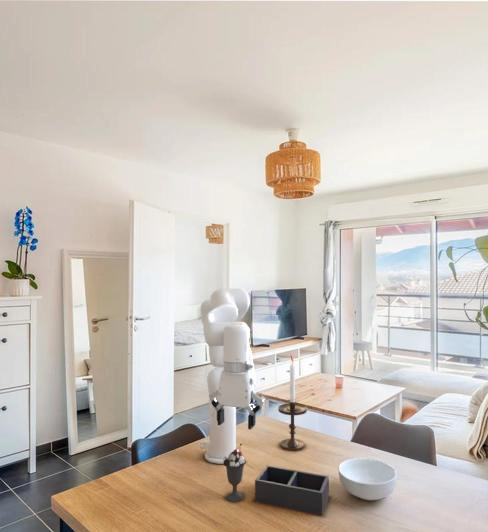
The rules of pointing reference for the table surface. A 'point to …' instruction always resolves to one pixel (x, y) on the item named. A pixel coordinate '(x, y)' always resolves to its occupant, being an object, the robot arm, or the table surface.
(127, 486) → the table surface
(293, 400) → the candlestick
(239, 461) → the sundae
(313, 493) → the caddy
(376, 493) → the cereal bowl
